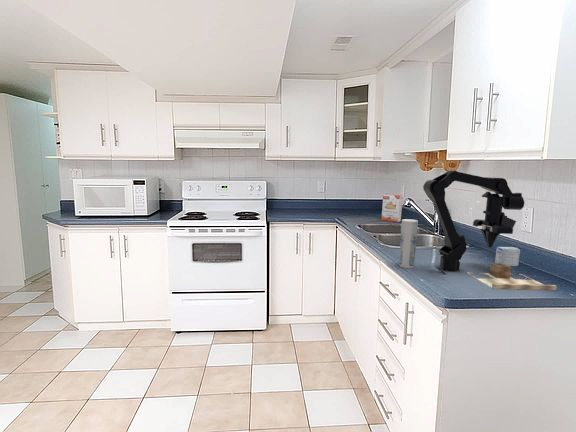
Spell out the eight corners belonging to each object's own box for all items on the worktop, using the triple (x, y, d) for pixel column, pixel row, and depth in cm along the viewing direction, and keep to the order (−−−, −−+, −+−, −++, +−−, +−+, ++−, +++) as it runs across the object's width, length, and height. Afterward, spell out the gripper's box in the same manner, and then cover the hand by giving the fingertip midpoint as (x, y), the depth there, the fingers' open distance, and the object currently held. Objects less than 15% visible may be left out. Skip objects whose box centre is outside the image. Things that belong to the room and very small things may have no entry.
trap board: (493, 291, 127) (493, 284, 126) (466, 275, 146) (466, 269, 145) (555, 293, 127) (556, 285, 127) (520, 276, 146) (521, 270, 146)
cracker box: (381, 220, 293) (382, 194, 290) (384, 219, 298) (386, 193, 295) (397, 222, 284) (399, 195, 281) (401, 221, 289) (402, 195, 286)
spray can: (400, 263, 161) (403, 218, 159) (415, 265, 158) (419, 220, 156) (397, 266, 156) (400, 220, 153) (412, 269, 153) (416, 221, 150)
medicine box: (511, 266, 163) (513, 246, 162) (518, 268, 158) (520, 249, 157) (494, 265, 162) (496, 246, 161) (500, 268, 158) (502, 248, 157)
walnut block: (496, 278, 139) (498, 266, 139) (489, 274, 144) (490, 263, 144) (509, 278, 139) (511, 267, 139) (502, 274, 144) (503, 263, 144)
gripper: (529, 212, 138) (524, 253, 140) (500, 207, 156) (496, 242, 158) (500, 211, 137) (495, 252, 139) (474, 206, 156) (470, 242, 158)
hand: (489, 247), depth 149 cm, fingers closed
